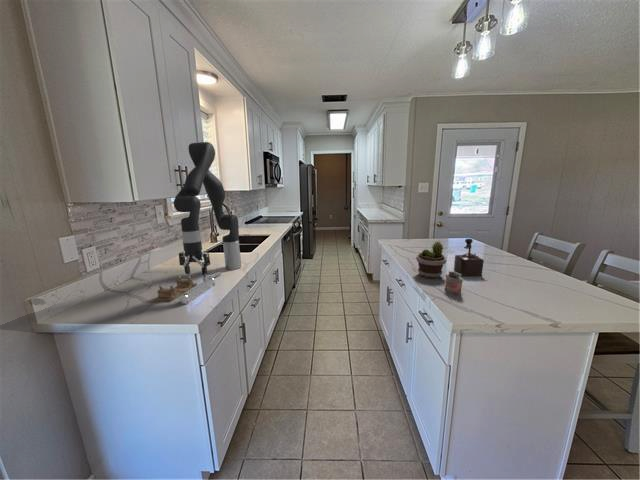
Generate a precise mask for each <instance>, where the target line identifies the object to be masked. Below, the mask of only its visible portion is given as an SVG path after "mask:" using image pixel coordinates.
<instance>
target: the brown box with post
mask: <svg viewBox="0 0 640 480" xmlns="http://www.w3.org/2000/svg"><path fill="white" fill-rule="evenodd" d="M464 241H465V243H466V245H465V246H464V247H463V248H464V249H466V250H468V253H467V252H466V253H464V254H456V255H455V256H454V262H453V263H454V265H453V272H454V271H455V272H456V273H459V274H461V275H462V276H461V277H462V278H466V277H467V278H469V277H470V278H471V277H482V276H483V268H484V262H485V260H484V259H483V258H481V257H479V255H477V254H476V253H474V254H473V253H472V252H471V250H472V243H473V241H474V240H473V239H472V238H466V239H465V240H464Z"/></svg>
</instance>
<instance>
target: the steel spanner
mask: <svg viewBox="0 0 640 480" xmlns="http://www.w3.org/2000/svg"><path fill="white" fill-rule="evenodd" d="M215 285H216V282H215V277H210V278H208V279H206V280H204V281H203V280H202V282H200V283H197V285H196V286H195V287H193V288H191V289H190V290H188V291H186V292H185V293H183V294H182V295H180V296H179V300H180V305H181V306H186V305H189V304H190V303H192V302H193V301H195V300H196V299H198V298H199V297H200V296H202V295H203V294H205V293H206V292H208V291H209V290H211V289H212V288H213V287H215Z"/></svg>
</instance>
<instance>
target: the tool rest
mask: <svg viewBox="0 0 640 480" xmlns="http://www.w3.org/2000/svg"><path fill="white" fill-rule="evenodd" d="M196 285H198V283H197V282H196V283H195V282H194V280H193V278H191V276H190V275H188V276H187V278H181V275H178V276H177V280H176V286H175V287H174V286H173V285H170V286H169V288H167V287H166V288H165V287H164V286H163V285H162V284H160V285H159V286H158V288H159V289H158V290H157V295H158V296H157V297H155V298H153V300H154V302H166V303H170V302H172V301H174V300H176V299H177V298H178V297H179V298H180V295H182V294H183V293H185V292H186V291H188V290H190V289H191V288H193V287H195V286H196Z"/></svg>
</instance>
